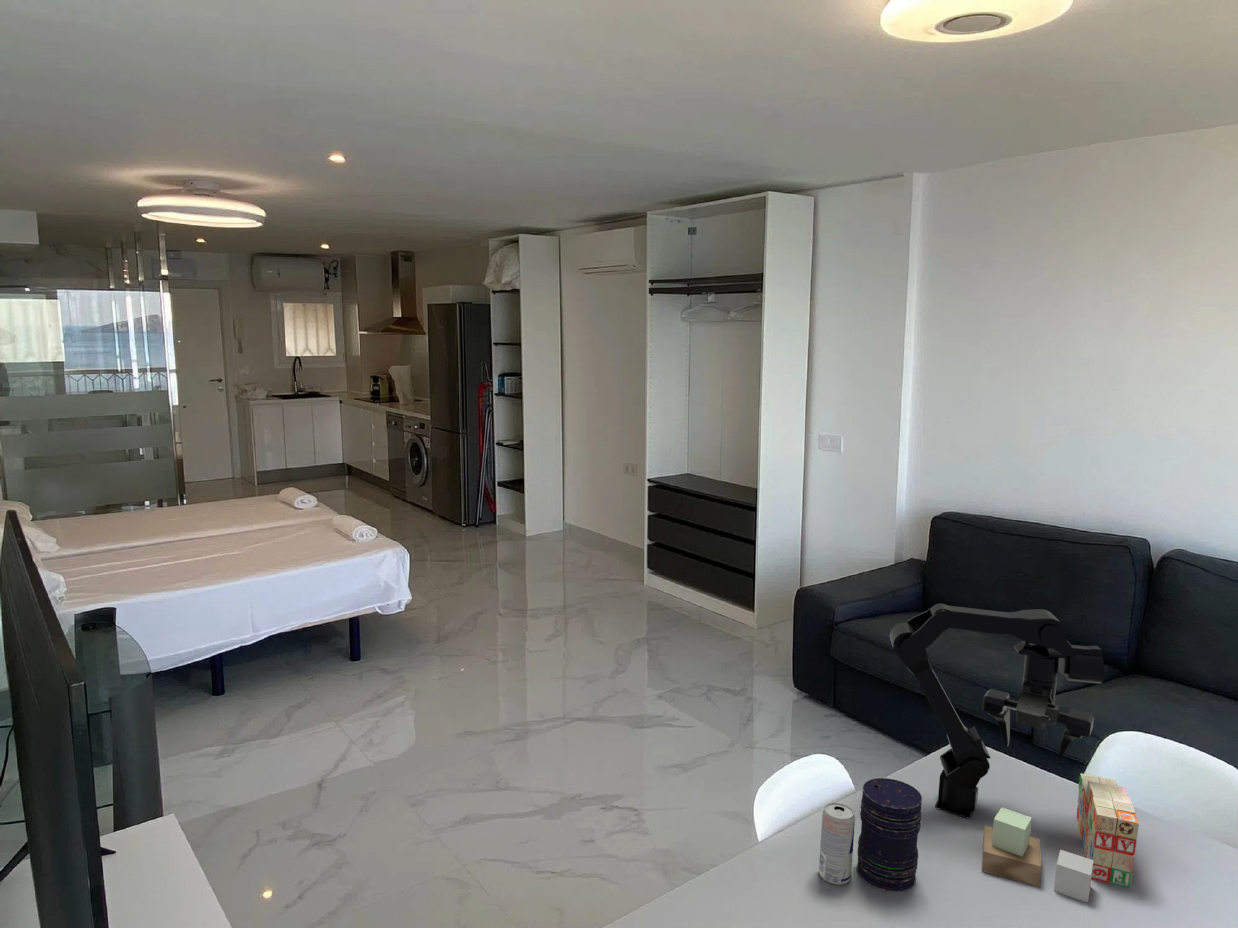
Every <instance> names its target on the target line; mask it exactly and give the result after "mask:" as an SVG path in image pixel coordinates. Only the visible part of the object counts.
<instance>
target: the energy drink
mask: <svg viewBox="0 0 1238 928" xmlns="http://www.w3.org/2000/svg"><path fill="white" fill-rule="evenodd" d="M855 823H856V816H855V812H854V810H853V808H851V807H850V806H848V805H847V804H844V803H841V802H840V803H839V802H830V803H827V804H825V806H824V808H823V810H822V814H821V830H820V831H821V832H820V845H819V846H820V847H819V863H818V874H819V876H820V877H821V878H822V880H824V881H825V882H826V883H828V884H831V885H836V886H842V885H846V884H847V883H849V882H850V881H851V879H852V878H851V877H852V869H853V868H852V867H853V851H854V839H855V826H856V825H855Z"/></svg>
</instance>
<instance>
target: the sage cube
mask: <svg viewBox="0 0 1238 928" xmlns="http://www.w3.org/2000/svg"><path fill="white" fill-rule="evenodd" d="M992 824H993V826H992V827H993V835H992V846H995V847H998V848H1000V849H1003V850H1005V851H1008V852H1011V853H1013V854H1016V855H1019V856H1021V857H1022V856H1023V854H1024V853H1025V851H1026V849H1027V847H1028V845H1029V841H1030V837H1031V830H1032V817H1031V816H1028V815H1025V814H1022V813H1019V812H1017V811H1014V810H1012V809H1011V810H1010V809H1007V808H1005V807H1001V808H1000V809H999V811H998V812H997V813H996V815H995V817H994V818H993V823H992Z"/></svg>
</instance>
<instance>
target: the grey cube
mask: <svg viewBox="0 0 1238 928" xmlns="http://www.w3.org/2000/svg"><path fill="white" fill-rule="evenodd" d="M1055 867H1056V869H1055V878H1054V888H1053V892H1056V893H1059V894H1061V895H1064V896H1067V897H1071V898H1073V899H1076V900H1079V901H1081V902H1084V903H1088V902H1089V898H1090V893H1091V888H1092V886H1091V885H1092V879H1091V878H1092V869H1093V860H1091V859H1088V858H1086V857H1084V856H1081V855H1078V854H1075V853H1072V852H1068V851H1066V850H1062V849H1059V854H1058V857H1057V861H1056V866H1055Z"/></svg>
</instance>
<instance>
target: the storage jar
mask: <svg viewBox="0 0 1238 928" xmlns="http://www.w3.org/2000/svg"><path fill="white" fill-rule="evenodd" d="M922 804H923V796H922V794H921V792H920V791H919V790H918V789H916V788H915V787H914V786H912V785H910V784H909V783H906V782H903V781H901V780H897V779H894V778H887V777H884V778H883V777H878V778H872V779H869V780H867V781H865V782H864V784H863V785H862V795H861V800H860V813H859V815H860V816H859V817H860V820H861V826H860V827H861V828H860V835H859V837H858V841H857V844H858V845H857V855H856V856H857V865H856V870H857V873H858V875H859V876H860V878H861V879H862V880H863V881H864V882H866V883H867V884H869V885H871V886H872V887H874V888H876V889H878V890H881V891H886V892H893V893H895V892H898V893H899V892H904V891H906V892H907V891H908V890H910V889H912V888H913V887H914V886H915V885H916V879H917V878H916V877H917V876H916V873H917V869H918V862H919V861H918V858H919V849H918V847H917V845H918V835H919V833H920V830H921V828H922V827H921V825H922V823H921V822H922Z"/></svg>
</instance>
